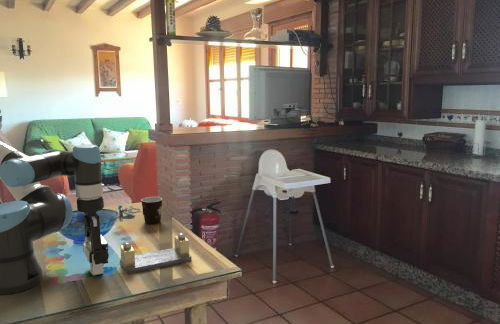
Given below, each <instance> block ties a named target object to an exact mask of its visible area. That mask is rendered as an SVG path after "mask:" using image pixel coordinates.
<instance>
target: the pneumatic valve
mask: <svg viewBox="0 0 500 324" xmlns="http://www.w3.org/2000/svg"><path fill="white" fill-rule="evenodd" d="M101 241H102V250H103V253H100V261H101V263H102V265H103V267H104V265H106V264H109V256H110V255H109V243H108V242H107V240H106V239H105V238H104V236H102V234H101ZM82 248H83V249H82V250H83V251H82V252H83V254H84V255H85V257H86V259H88V260H87V261H88V262H89V264H90V268H89V273H91V275H92V276H93V277H94V276H98V275H104V273H105V272H104V270H103V273H100V274H95V275H93V265H92V255H90V252H92V246H91V239H90V235H89V236H85V235H84V242H83V243H82ZM93 259H94V261H95V254H94V256H93Z"/></svg>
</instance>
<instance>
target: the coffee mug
mask: <svg viewBox="0 0 500 324" xmlns="http://www.w3.org/2000/svg"><path fill="white" fill-rule="evenodd" d="M140 202H141V206H142V208H141V209H142V216H143V219H144V224H145V225H148V226H150V225H151V226H155V225H158V224H161V221H162V210H163V209H162V207H163V198H162V197H160V196H148V197H144V198H141V199H140Z"/></svg>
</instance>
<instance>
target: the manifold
mask: <svg viewBox="0 0 500 324" xmlns="http://www.w3.org/2000/svg"><path fill="white" fill-rule="evenodd" d="M173 239H174V247H172V248H166V249H161V250H156V251H152V252H144V253H139V254H135V249H134V248H133V246H132V242H131V241H125V242H123V243H122V245H120V246H119V248H120V258H119V263H120V264H121V267H122V268H123V270H124V271H125V273H126V274H127V275H130V274H135V273H139V272H144V271H148V270H154V269H157V268H159V269H160V268H163V267H164V268H165V267H168V266H173V265H178V264H183V263H187V262H191V261H193V260H192V259H193V258H192V255H191V254H190V239H188V238H187V237H186V234H185V232H179V233H177V235H174V238H173Z"/></svg>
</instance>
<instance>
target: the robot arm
mask: <svg viewBox="0 0 500 324" xmlns="http://www.w3.org/2000/svg"><path fill="white" fill-rule="evenodd" d="M1 113H2V110H1V109H0V180H1V182H2V183H3V184H4V186H5V187H6V188H7V190H8V191H9V193H10V194H11V195H12V196H13V198H14V199H15V200H11V201H9V202H2V203H0V296H1V295H2V296H3V295H11V294H17V293H21V292H24V291H26V290H29V289H31V288H34V287H36V286H37V285H39V284H41V282H42V281H43V279H44V278H43V277H44V275H43V270H42V267H41V265H40V263H39V261H38V259H37V257H36V255H35V253H34V251H35V250H34V242H35V241H37V240H39V239H43V238H45V237H47V236H50V235H52V234H56V233H58V232H60V231H61V230H63V229H65V228H67V226H69V224H70V223H71V221H72V219H73V207H72V203H71V201H70V199H69V197H68V196H67V195H65V194H63V193H59V192H56V193H55V192H54V190H52V188H51V187H50V186H49V185H45V184H44V185H43V184H41V181H42V182H43V181H46V180H49V179H53V178H58V177H61V176H63V177H64V176H65V177H74V187H75V197H76V210H77V211H78V212H80V213H83V221H84V237H85V236H89V235H90V239H91V246H92V252H90V255H92V265H93V275H95V274H99V275H101V274H100V273H103V271H104V266H103V265H102V263H101V261H100V253H103V250H102V241H101V235H102V234H101V233H102V232H101V225H100V221H101V220H100V216H99V214H98V213H97V212H98V211H102V210H103V209H104V208H105V203H104V197H103V194H104V193H103V190H104V188H105V184H104V183H103V178H102V177H103V175H102V158H101V157H102V156H101V151H100V150H101V149H100V147H99V146H98V145H96V144H78V145H74V146H73V147H72V150H61V149H47V150H44V151H43V152H42V153H39V154H33V155H27V154H25V153H24V152H22V151H20V150H18V149H16V148H14V146H13V145H12V143H11V142H10V141H9V140H8V138H7V137H6V135H5V134H4V133H3V132H2V130H1V129H2V127H3V124H2V121H3V115H2V114H1ZM94 254H95V261H94V259H93V256H94ZM86 259H87V258H86ZM86 261H88V259H87V260H86ZM103 274H104V273H103ZM93 275H92V276H93ZM95 276H96V275H95Z"/></svg>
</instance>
